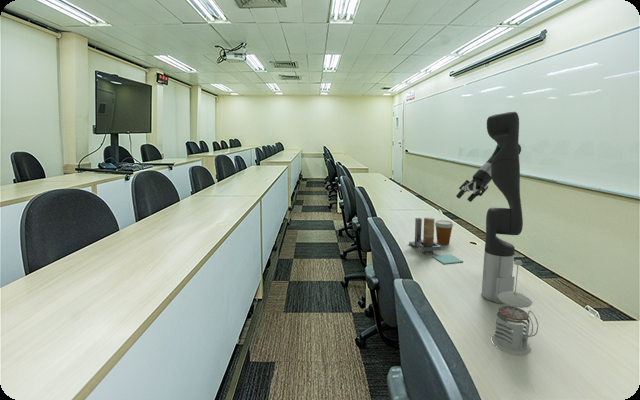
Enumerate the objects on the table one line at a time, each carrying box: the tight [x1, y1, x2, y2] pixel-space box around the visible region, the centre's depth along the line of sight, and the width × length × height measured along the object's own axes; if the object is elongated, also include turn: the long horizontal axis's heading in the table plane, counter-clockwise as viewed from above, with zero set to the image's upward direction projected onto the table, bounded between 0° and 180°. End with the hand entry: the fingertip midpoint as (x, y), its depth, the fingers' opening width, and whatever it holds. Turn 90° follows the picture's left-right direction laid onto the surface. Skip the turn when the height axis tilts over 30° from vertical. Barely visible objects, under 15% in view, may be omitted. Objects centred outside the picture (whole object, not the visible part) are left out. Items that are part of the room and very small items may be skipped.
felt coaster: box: [431, 253, 464, 265], centre depth 149 cm, size 10×10×1 cm
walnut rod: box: [422, 217, 435, 255], centre depth 158 cm, size 5×5×18 cm
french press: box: [491, 259, 539, 356], centre depth 84 cm, size 10×12×25 cm
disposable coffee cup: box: [434, 219, 454, 246], centre depth 173 cm, size 10×10×12 cm
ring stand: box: [408, 217, 442, 252], centre depth 162 cm, size 18×9×16 cm, turn 10°
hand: (463, 199), depth 149 cm, fingers open, 8 cm apart
